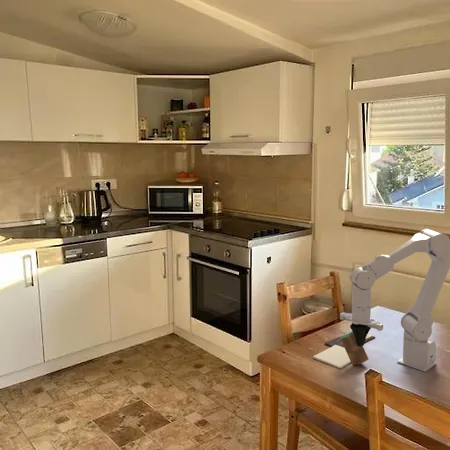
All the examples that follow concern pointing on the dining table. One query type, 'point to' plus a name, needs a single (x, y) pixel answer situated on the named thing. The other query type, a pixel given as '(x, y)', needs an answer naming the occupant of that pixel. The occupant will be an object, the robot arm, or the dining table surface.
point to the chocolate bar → (338, 342)
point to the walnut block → (353, 349)
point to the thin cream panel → (334, 356)
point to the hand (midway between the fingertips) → (360, 345)
